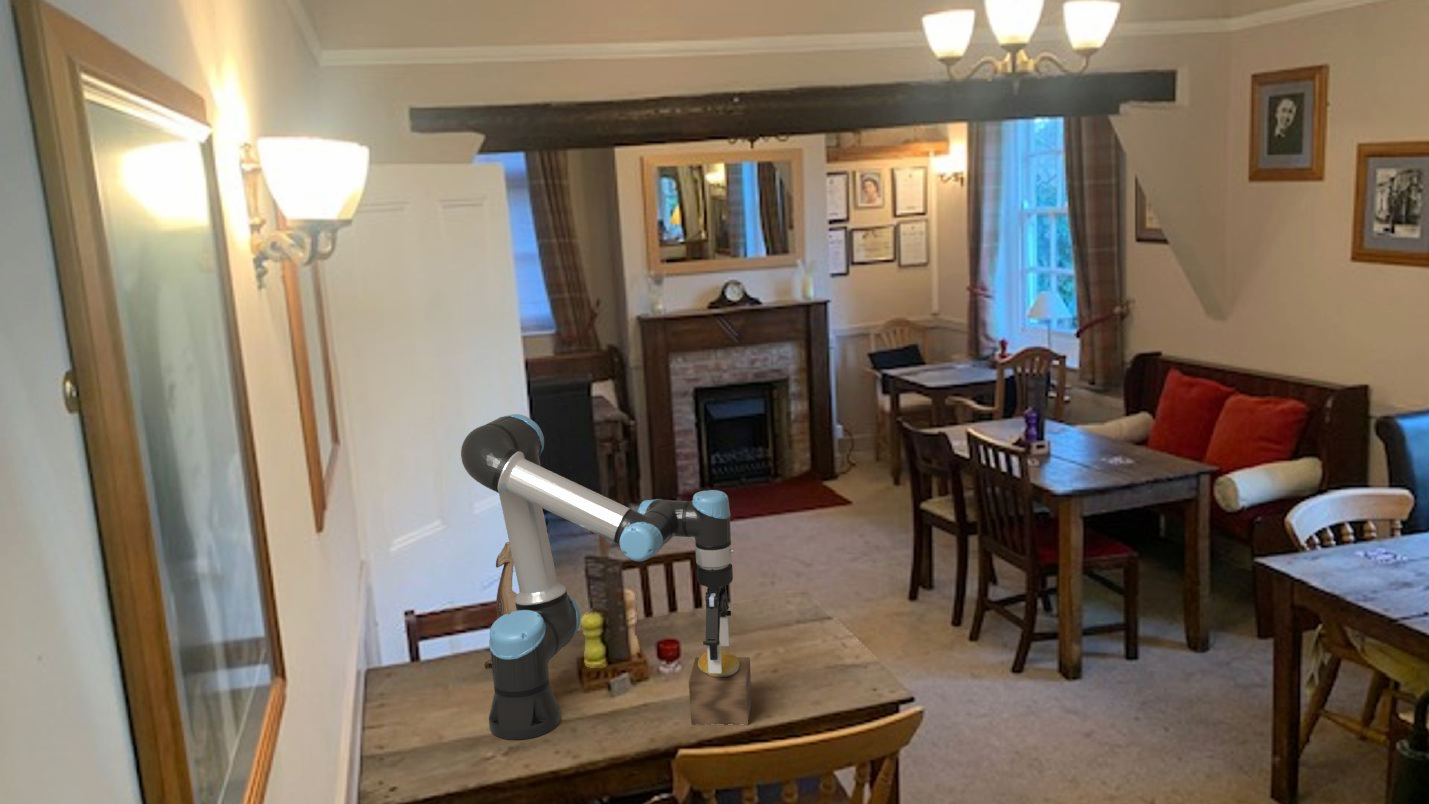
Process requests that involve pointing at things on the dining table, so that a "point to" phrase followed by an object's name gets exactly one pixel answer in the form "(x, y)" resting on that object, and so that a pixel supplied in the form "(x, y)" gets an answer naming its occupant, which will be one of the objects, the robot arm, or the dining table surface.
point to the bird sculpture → (505, 586)
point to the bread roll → (727, 660)
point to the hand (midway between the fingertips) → (719, 658)
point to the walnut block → (720, 696)
